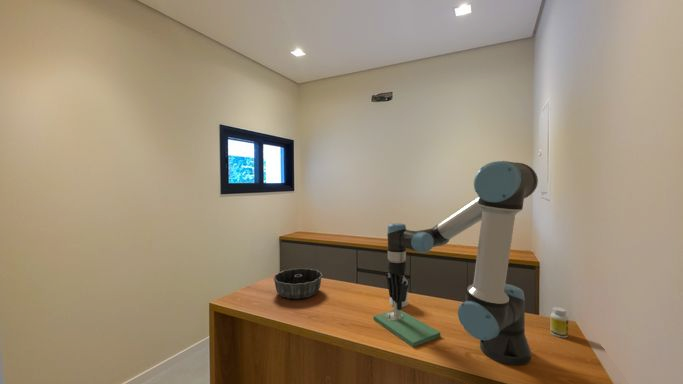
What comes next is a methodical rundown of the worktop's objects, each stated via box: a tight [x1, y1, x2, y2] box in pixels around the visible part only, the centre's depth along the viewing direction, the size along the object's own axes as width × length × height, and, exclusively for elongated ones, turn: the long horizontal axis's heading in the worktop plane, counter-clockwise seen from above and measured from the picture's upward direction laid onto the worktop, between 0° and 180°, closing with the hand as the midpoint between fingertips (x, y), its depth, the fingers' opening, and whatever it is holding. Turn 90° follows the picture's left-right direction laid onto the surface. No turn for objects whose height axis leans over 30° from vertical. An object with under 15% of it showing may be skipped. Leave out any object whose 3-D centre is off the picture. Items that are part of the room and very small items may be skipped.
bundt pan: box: [273, 267, 323, 300], centre depth 152 cm, size 26×26×10 cm
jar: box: [388, 294, 409, 308], centre depth 136 cm, size 9×8×12 cm
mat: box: [373, 309, 441, 348], centre depth 113 cm, size 24×14×2 cm, turn 29°
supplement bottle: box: [549, 306, 569, 339], centre depth 106 cm, size 5×5×10 cm
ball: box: [390, 312, 399, 319], centre depth 119 cm, size 4×4×4 cm
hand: (397, 316), depth 117 cm, fingers closed
